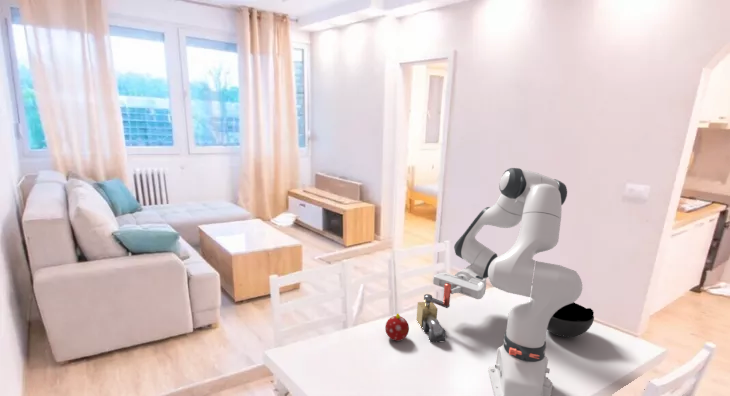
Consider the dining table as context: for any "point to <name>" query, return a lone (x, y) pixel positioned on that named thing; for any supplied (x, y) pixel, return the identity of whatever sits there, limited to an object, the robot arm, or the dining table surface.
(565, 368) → the dining table surface
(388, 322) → the christmas ornament
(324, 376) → the dining table surface
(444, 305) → the lever
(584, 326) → the bowl of black rocks
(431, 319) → the valve
